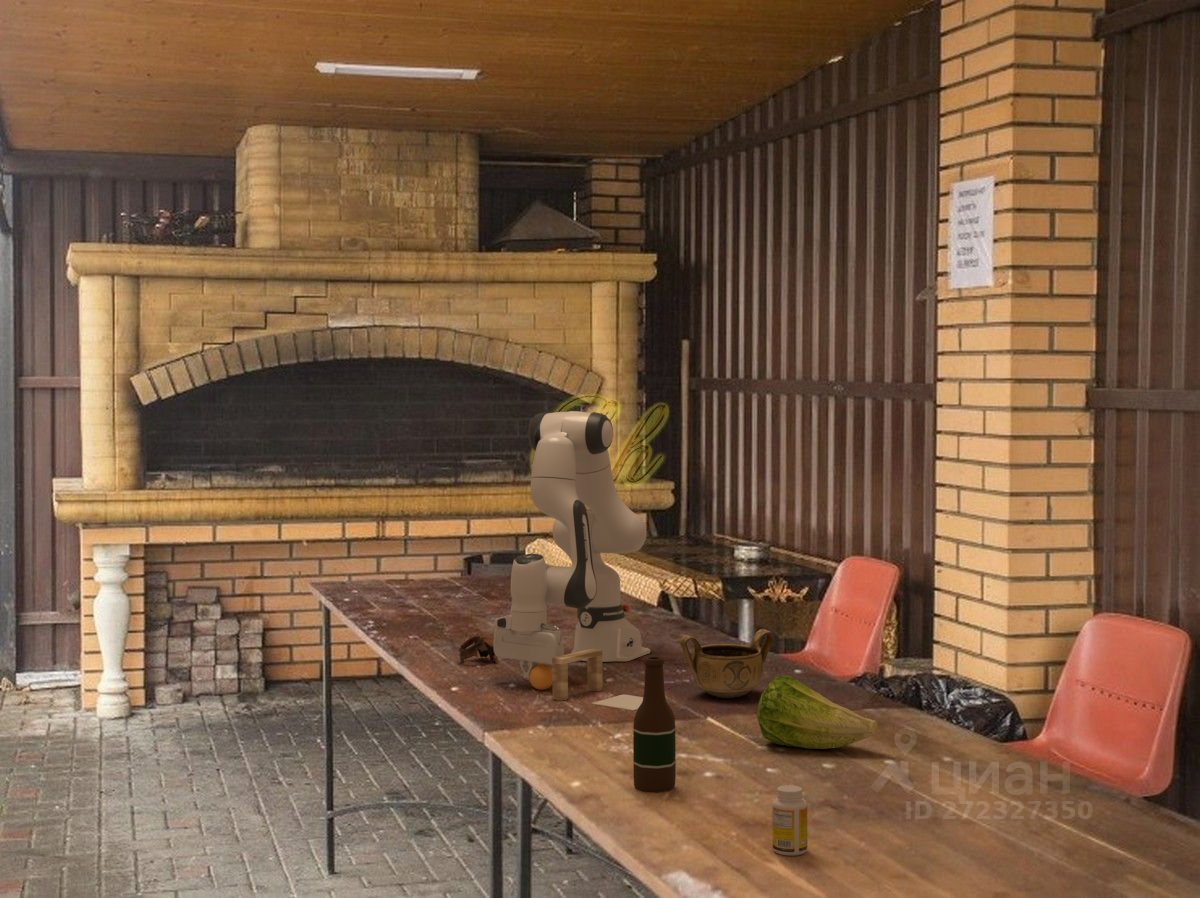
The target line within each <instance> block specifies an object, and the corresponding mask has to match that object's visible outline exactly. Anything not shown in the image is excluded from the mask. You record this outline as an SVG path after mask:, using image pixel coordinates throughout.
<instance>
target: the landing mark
mask: <svg viewBox="0 0 1200 898" xmlns="http://www.w3.org/2000/svg"><path fill="white" fill-rule="evenodd" d="M642 702H643V696H636V695H631V694H620V695H616V696H613V697H609V698H604V699H602V700H598V701H594V702H591V705H595V706H596V705H597V706H601V707H602V706H603V707H608V708H615V709H620V710H628V711H633V712H634V711H637V710H638V708H639V706H640V705H641V703H642Z"/></svg>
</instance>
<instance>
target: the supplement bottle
mask: <svg viewBox="0 0 1200 898" xmlns="http://www.w3.org/2000/svg"><path fill="white" fill-rule="evenodd" d="M776 791H777V792H776V798H775V799H773V801H772V804H771V808H772V809H771V812H772V813H771V815H772V816H771V819H772V822H771V823H772V827H771V828H772V850H773V852H775V853H776V854H778V855H781V856H786V857H787V856H789V857H791V856H795V857H797V856H801V855H803V854H805V853H806V852H807V851H808V845H809V844H808V843H809V842H808V802H807V800H805V799H804V798H803V796H804V795H803V788H802V787H800V786H798V785H792V784H791V785H790V784H786V785H780V786H778V787H777V790H776Z"/></svg>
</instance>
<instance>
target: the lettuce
mask: <svg viewBox="0 0 1200 898" xmlns="http://www.w3.org/2000/svg"><path fill="white" fill-rule="evenodd" d="M756 711H757V713H756V716H757V721H758V725H759V728H760V732H761V734H762V737H763V738H764V739H766V740H768V741H770V742H772V743H774V744H776V745H779V746H784V745H786V746H787V747H793V746H794V748H804V749H815V750H816V749H817V750H818V749H819V750H826V749H838V748H840V747H841V748H842V747H845V746H849V745H852V744H854V743H857V742H859V741H860V742H861V741H863V740H865V739H868V738H870V737H871V736H874V735H875V734H876V733H877V730H878V722H877V720H875V719H871V718H866V717H863V716H861V715H859V714H857V713H856V712H854V711H852V710H851V709H849V708H846V707H844V706H841V705H839V704H837V703H835V702H833V701H831V700H829V699H828V698H826V697H825V696H823V695H822V694H820V693H819V692H817V691H815V690H813V689H812V688H810V687H809V686H807V685H805V684H804V683H803V682H800V681H799V680H798V679H796V678H794V677H793V676H791V675H775V677H774V678H773V679H772V680H771V681H770V682H769V683H768V685H767V686H766V687H765V688H764V690H763V692H762V693H761V694H760V698H759V701H758V706H757V710H756ZM786 746H785V747H786Z"/></svg>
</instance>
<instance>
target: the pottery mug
mask: <svg viewBox="0 0 1200 898" xmlns="http://www.w3.org/2000/svg"><path fill="white" fill-rule="evenodd" d="M459 646H460V647H459V648H458V652H459V654H460V655H459V661H460V662H461V663H462V662H463V663H465V660H467V659H470V658H473V657H477V658H478V657H481V658H487V657H489V661H490V660H492V661H494V664H495V665H498V663H499V657H497V656H496V655H495V653H494V644H493V643H492V642H491V641H490V640H488V639H487V637H485V636H483V635H480V634H478V635H474V636H472V637H469V638H468V639H467V640H465V641H464V642H463V643H461V645H459ZM478 655H479V656H478Z"/></svg>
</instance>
